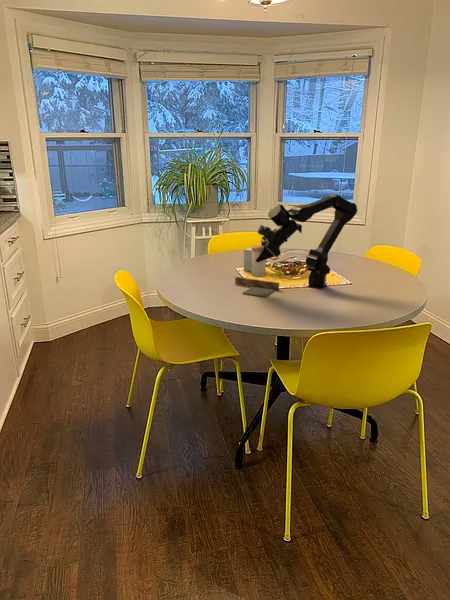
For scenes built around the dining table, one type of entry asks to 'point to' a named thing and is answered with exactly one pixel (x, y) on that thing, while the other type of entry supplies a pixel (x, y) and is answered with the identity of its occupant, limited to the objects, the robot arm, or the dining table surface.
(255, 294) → the mat
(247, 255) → the small box
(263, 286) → the wall
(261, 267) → the canister
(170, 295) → the dining table surface
